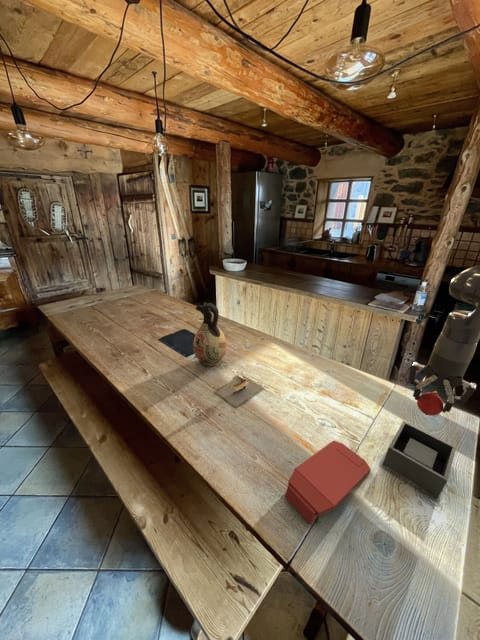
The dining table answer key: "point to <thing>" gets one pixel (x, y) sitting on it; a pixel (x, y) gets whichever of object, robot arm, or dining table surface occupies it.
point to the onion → (430, 403)
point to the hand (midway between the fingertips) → (429, 404)
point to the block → (420, 453)
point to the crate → (414, 470)
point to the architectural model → (239, 390)
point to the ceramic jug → (209, 337)
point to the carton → (325, 480)
